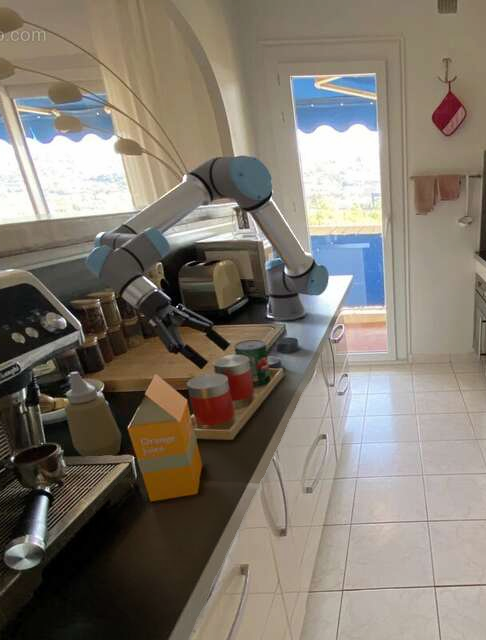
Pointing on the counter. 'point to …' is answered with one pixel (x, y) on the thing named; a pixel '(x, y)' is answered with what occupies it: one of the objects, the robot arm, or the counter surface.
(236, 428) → the tray
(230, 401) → the label can
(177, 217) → the robot arm
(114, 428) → the squeeze bottle
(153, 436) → the orange juice
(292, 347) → the grey tin
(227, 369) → the can label
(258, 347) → the canned tomato
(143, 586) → the counter surface
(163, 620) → the counter surface
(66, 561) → the counter surface
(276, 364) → the grey tin
